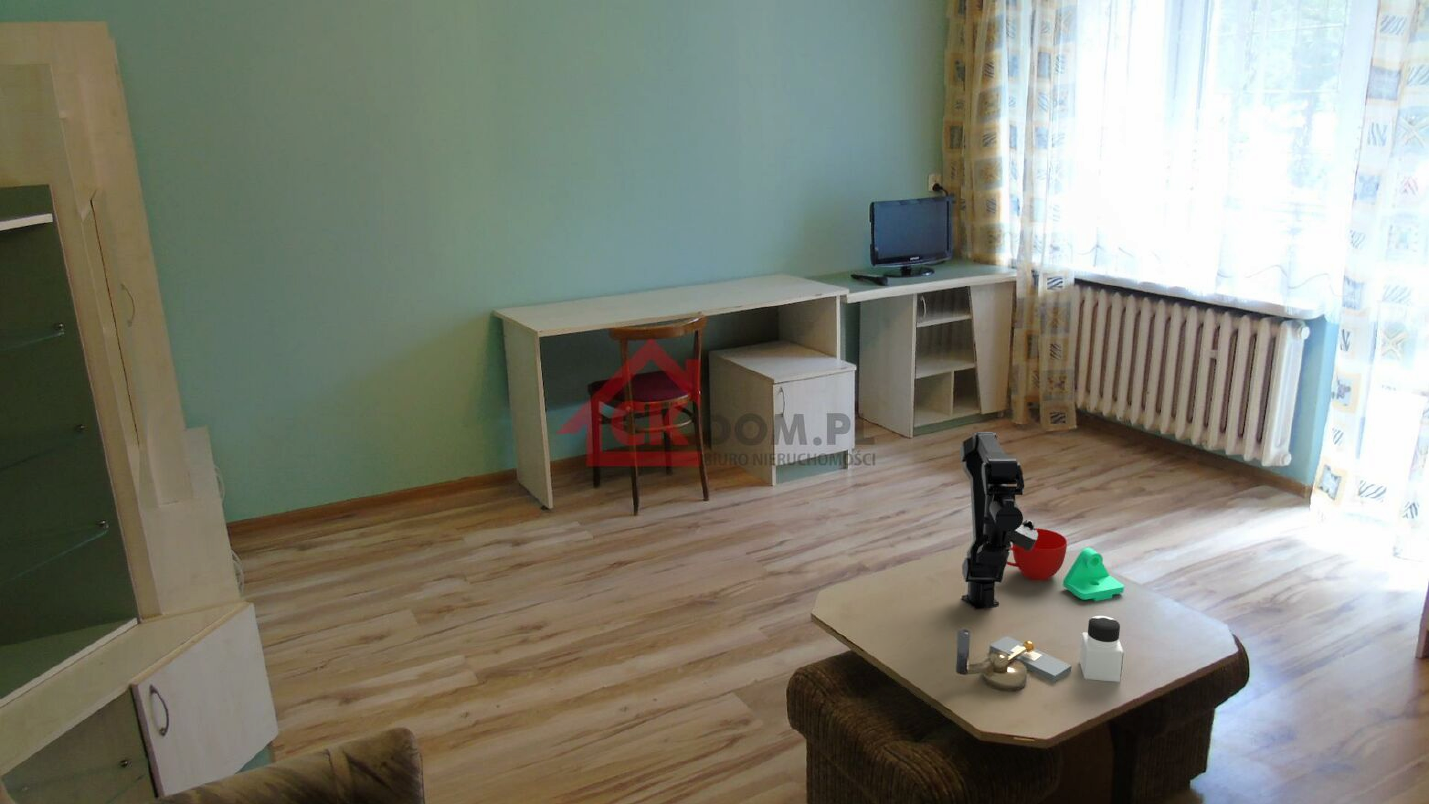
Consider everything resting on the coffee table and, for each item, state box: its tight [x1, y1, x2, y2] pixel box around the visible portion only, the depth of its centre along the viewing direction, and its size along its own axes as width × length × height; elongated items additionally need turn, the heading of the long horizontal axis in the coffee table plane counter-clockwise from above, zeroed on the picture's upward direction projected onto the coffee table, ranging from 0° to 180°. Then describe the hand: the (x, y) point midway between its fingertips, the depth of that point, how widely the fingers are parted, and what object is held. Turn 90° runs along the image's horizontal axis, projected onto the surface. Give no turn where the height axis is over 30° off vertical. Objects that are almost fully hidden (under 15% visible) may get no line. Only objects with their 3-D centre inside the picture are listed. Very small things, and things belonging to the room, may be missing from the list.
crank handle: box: [955, 629, 1035, 692], centre depth 205 cm, size 20×12×12 cm, turn 99°
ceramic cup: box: [1006, 527, 1068, 582], centre depth 248 cm, size 13×17×10 cm
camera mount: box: [1062, 547, 1125, 602], centre depth 239 cm, size 12×8×10 cm, turn 107°
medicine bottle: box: [1079, 615, 1124, 683], centre depth 206 cm, size 7×7×12 cm
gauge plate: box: [989, 635, 1072, 683], centre depth 212 cm, size 16×6×2 cm, turn 39°
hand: (994, 577), depth 221 cm, fingers closed
